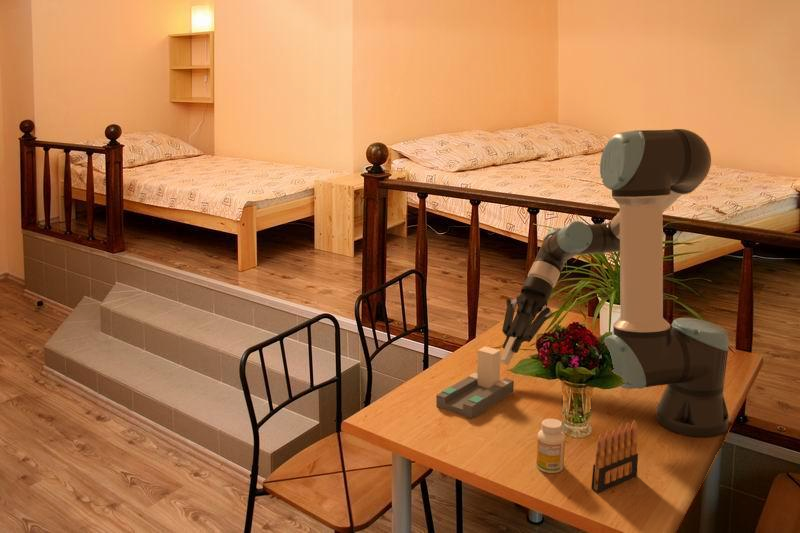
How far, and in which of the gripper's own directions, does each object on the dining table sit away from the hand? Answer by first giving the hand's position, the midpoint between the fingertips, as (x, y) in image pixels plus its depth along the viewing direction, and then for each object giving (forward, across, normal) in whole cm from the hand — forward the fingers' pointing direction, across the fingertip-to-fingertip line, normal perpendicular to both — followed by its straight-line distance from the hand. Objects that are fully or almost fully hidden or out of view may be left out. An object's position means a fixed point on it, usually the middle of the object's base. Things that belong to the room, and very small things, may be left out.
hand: (504, 361), depth 192 cm
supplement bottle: (+25, -29, +17) cm, 42 cm away
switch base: (+13, 0, +5) cm, 14 cm away
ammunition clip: (+23, -42, +15) cm, 50 cm away
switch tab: (+8, 0, +2) cm, 8 cm away
